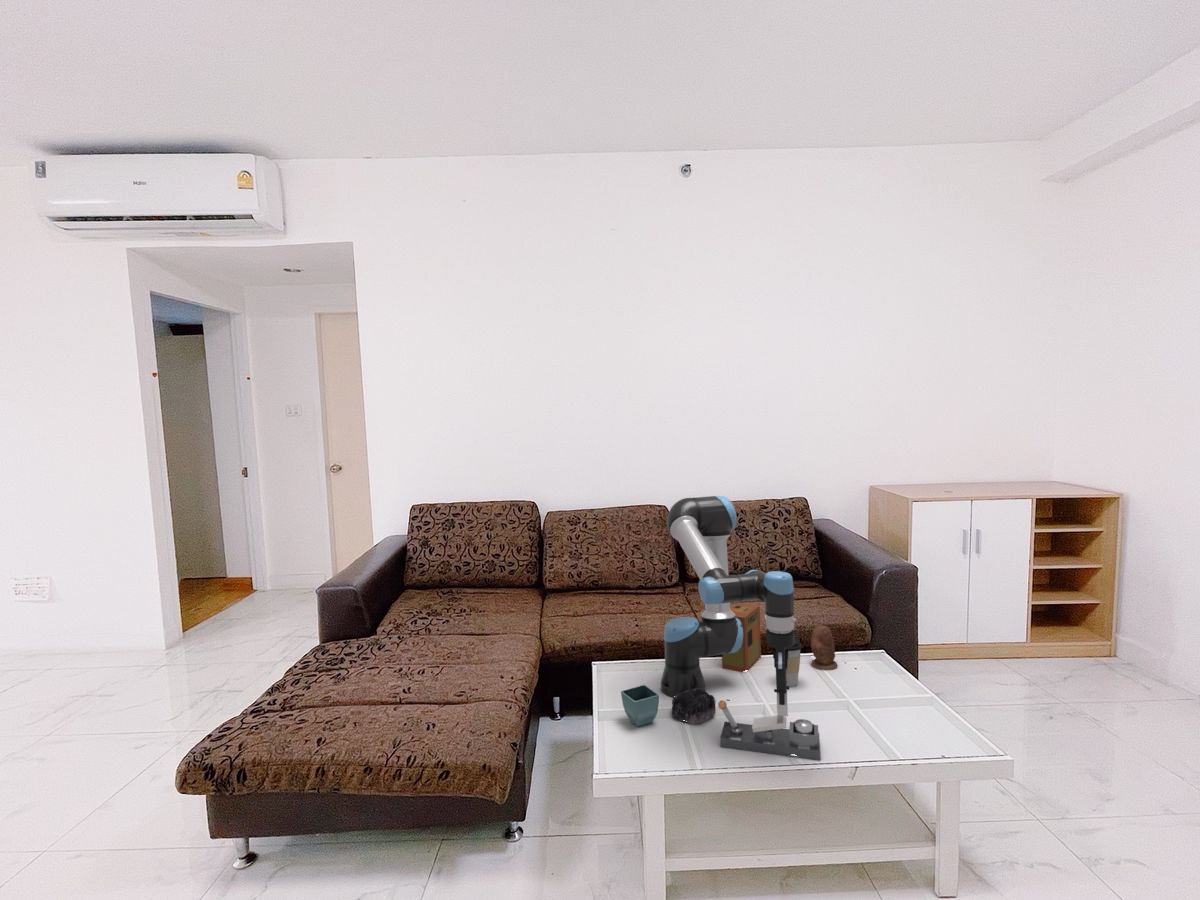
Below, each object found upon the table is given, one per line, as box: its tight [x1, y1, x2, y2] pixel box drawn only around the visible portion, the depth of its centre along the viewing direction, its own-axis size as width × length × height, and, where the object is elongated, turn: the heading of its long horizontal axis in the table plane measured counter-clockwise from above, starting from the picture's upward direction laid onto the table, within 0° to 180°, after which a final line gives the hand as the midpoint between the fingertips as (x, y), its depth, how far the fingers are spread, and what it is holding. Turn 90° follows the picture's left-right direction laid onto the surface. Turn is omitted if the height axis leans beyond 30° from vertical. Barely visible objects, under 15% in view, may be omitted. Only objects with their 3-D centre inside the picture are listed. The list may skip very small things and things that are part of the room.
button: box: [794, 718, 813, 735], centre depth 164 cm, size 4×4×4 cm
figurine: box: [810, 624, 838, 671], centre depth 220 cm, size 9×10×15 cm
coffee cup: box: [774, 637, 803, 688], centre depth 206 cm, size 9×9×15 cm
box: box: [721, 602, 762, 673], centre depth 225 cm, size 17×9×20 cm, turn 147°
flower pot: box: [620, 684, 660, 727], centre depth 182 cm, size 9×9×9 cm
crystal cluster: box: [671, 687, 717, 725], centre depth 185 cm, size 13×14×10 cm
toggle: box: [717, 699, 737, 728], centre depth 170 cm, size 2×2×8 cm
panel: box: [719, 721, 821, 761], centre depth 167 cm, size 26×10×5 cm, turn 71°
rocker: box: [752, 715, 788, 732], centre depth 167 cm, size 9×6×1 cm, turn 72°
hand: (782, 714), depth 165 cm, fingers closed
